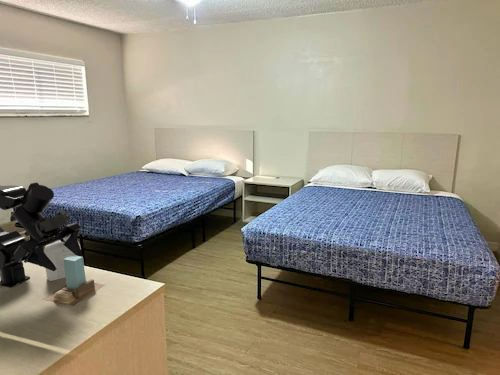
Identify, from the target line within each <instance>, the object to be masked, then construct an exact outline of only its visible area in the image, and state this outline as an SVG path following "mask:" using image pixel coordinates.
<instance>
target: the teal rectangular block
mask: <svg viewBox="0 0 500 375" xmlns="http://www.w3.org/2000/svg"><path fill="white" fill-rule="evenodd" d="M63 261H64V269H65V276H66V278H65V281H66V282H65V283H66V284H65V285H67V288H69V289H74V290H76V288H78V287H79V286H81V285H83V284H84V283H86V271H85V270H86V269H85V262H84V257H83V256H82V257H81V256H74V255H71V256H69V257H67V258H65V259H63Z"/></svg>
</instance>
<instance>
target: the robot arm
mask: <svg viewBox="0 0 500 375" xmlns="http://www.w3.org/2000/svg"><path fill="white" fill-rule="evenodd" d="M54 196H55V193H54V191H53V189H52V188H49V187H48V186H45V185H44V184H43V185H42V184H39V183H38V182H31V183H29V186H28V188H27V189H26V188H25V187H24V186H21V185H1V184H0V209H1V210H3V211H7V210H10V209H13V208H15V210H14V211H11V212H10V218H9V220H10V222H11V223H12V222H16V221H17V222H18V223H19V224H20V225H21V227H22V228H23V229H24V230H25V233H24V235H25V236H26V237H29V236H30V237H31V239H28V240H26V237H25V236H23V235H21V233H20V232H19V231H17V230H13V231H9V232H7V231H6V230H5V229H4V228H2V227H1V226H0V286H1V287H6V288H13V287H15V286H17V285H19V284H22V283H23V282H25V281H27V280H29V279H31V277H30V276H28V275H26V273H25V271H26V270H25V267H24V263H25V264H26V263H30V264H33V265H36V266H40V267H42V268H44V269H46V268H47V269H49V270H52V271H55V270H56V269H57V268H56V267H55V265H54V264H53V263H52V261H51V260H50V259H49V258H48V257H47V256H46V254H45V253H44V248H45V246H46V245H49V244H51V243H53V242H56V241H59V240H60V241H61V242H65V243H64V244H63V245H64V246H65V247H67V248H68V249H69V250H70V251H71V252H73V253H74V254H75V255H76V256H81V257H83V256H84V255H83V252H82V248H81V249H80V247H81V245H80V246H79V243H80V242H79V243H78V241H79V239H78V236H79V235H80V231H81V230H82V227H81V226H80V224H79V223H78V222H73V223H70V224H68V221H70V220H71V219H70V215H69V213H67V212H66V211H65V210H61V211H59V212H57V213H55V216H52V217H50V216H44V215H43V212H45V210H46V209H47V207H48V206H49V204H50V202H52V200H53V199H54ZM62 226H64V228H63V229H62V228H61V227H62ZM60 230H61V231H60ZM59 231H60V232H59Z"/></svg>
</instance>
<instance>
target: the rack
mask: <svg viewBox="0 0 500 375" xmlns="http://www.w3.org/2000/svg"><path fill="white" fill-rule="evenodd" d="M104 286H105V284H103V283H98V282H97V283H96V282H95V280H94V279H92V278H91V279H89V280H87V281H86V283H84V284H83V285H81V286H79V287H78V288H76V290H74V289H69V288H67V284H65V285H64V286H62V287H59V288H58V289H56V290H55V291H53V292H51V293H50V294H48V295H46V296H44V297H43V298H42V300H44V301H48V302H54V303H59V304H62V305H66V306H67V305H68V306H71V307H72V306H76V305H78V303H80V302H81V301H84V300H85V299H86V298H88V297H89V296H90V295H92V294H93V293H95V292H97V291H98V290H100V289H102V287H104Z"/></svg>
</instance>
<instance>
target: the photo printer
mask: <svg viewBox="0 0 500 375" xmlns="http://www.w3.org/2000/svg"><path fill="white" fill-rule="evenodd" d="M64 243H65V242H61V241H60V240H58V241H56V242H53V243H51V244H49V245H46V246H44V248H43V250H44V253H45V254H46V256H47V257H48V258H49V259H50V260H51V261H52V263H53V264H54V265H55V267H56V268H57V269H56V270H55V271H52V270H49V269H47V268H45V272H46V273H45V274H46V279H47V281H49V282H52V281H57V280H60V279H66V276H65V269H64V261H63V259H65V258H67V257H69V256H71V255H74V256H76V255H75V254H74V253H73V252H71V251H70V250H69V249H68V248H67V247H65V246H64V245H63V244H64ZM78 243H79V246H80V249H81V250H82V248H81V244H80V241H79V240H78Z"/></svg>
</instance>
